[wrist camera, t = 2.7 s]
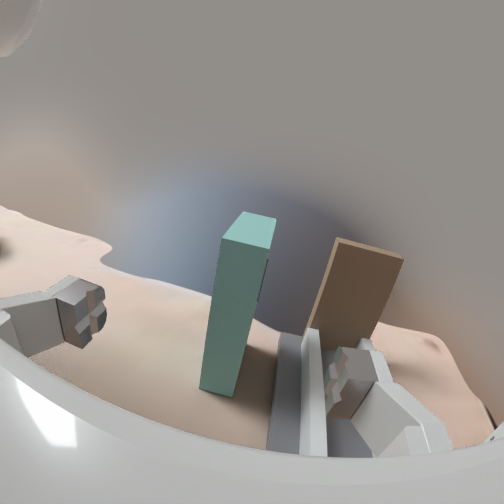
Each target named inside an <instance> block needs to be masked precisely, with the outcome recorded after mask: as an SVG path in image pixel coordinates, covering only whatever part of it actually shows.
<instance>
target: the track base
mask: <svg viewBox="0 0 504 504" xmlns="http://www.w3.org/2000/svg"><path fill="white" fill-rule="evenodd" d="M403 261H404V259H403V258H402V257H401V256H400V255H399V254H397V253H394V252H390V251H386V250H383V249H379V248H376V247H372V246H368V245H365V244H361V243H357V242H353V241H350V240H346V239H342V238H338V237H336V240H335V243H334V247H333V250H332V253H331V257H330V259H329V263H328V266H327V269H326V272H325V275H324V278H323V281H322V284H321V287H320V290H319V293H318V296H317V299H316V302H315V304H314V307H313V310H312V313H311V316H310V319H309V321H308V324H307V327H306V329H305V332H304V335H303V336H298V335H293V334H289V333H284V332H281V335H280V338H279V343H278V353H277V362H276V372H275V381H274V389H273V398H272V406H271V414H270V422H269V430H268V437H267V445H266V450H268V451H275V452H282V453H290V454H299V455H309V456H322V457H341V458H377V457H376V456H375V455H374V453H373V452H372V451H371V449H370V448H369V446H368V445H367V444H366V442H365V441H364V440H363V438H362V437H361V435H360V434H359V433H358V431H357V430H356V428H355V427H354V426H353V424H352V423H351V421H350V420H349V419H339V418H330V417H326V410H325V401H326V399H327V397H328V396H327V395H326V393H325V392H324V380H325V376H326V372H327V370H328V367H329V365H331V364H332V363H334V362H335V360H334V354H335V352H336V350H337V348H338V347H339V346H342V347H349V348H357V349H364V350H374V347H373V344H372V341H371V339H370V337H371V335H372V333H373V331H374V329H375V327H376V324H377V322H378V320H379V318H380V316H381V314H382V312H383V309H384V307H385V305H386V303H387V300H388V298H389V296H390V293H391V291H392V289H393V286H394V284H395V281H396V279H397V276H398V274H399V271H400V269H401V266H402V263H403Z"/></svg>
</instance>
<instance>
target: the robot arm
mask: <svg viewBox="0 0 504 504" xmlns="http://www.w3.org/2000/svg"><path fill="white" fill-rule="evenodd" d="M41 4H42V0H0V57H5V56H9V55H10V54H11V53H13V52H14V51H15V50H16V49H17V48H18V47H19V46H20V45H21V44H22V43H23V42H24V41H25V40H26V38H27V37H28V36H29V34H30V33H31V31H32V29H33V28H34V26H35V24H36V22H37V19H38V17H39V14H40V10H41ZM104 299H105V291H104V289H103V288H102V287H101V286H99V285H96V284H93V283H91V282H88V281H85V280H83V279H80V278H78V277H75V276H70V275H69V276H67V277H65V278H64V279H62V280H61V281H59V282H58V283H56V284H55V285H53V286H52V287H50V288H49V289H47V290H46V291H44V292H41V291H39V292H33V293H28V294H22V295H17V296H11V297H6V298H1V299H0V504H504V438H500V439H497V440H493V441H490V442H486V443H482V444H478V445H474V446H469V447H465V448H460V449H453V446H452V443H451V440H450V438H449V435H448V432H447V429H446V427H445V424H444V423H443V422H442V421H441V420H440V419H439V418H438V417H436V416H435V415H434V414H433V413H432V412H431V411H429V410H428V409H427V408H426V407H425V406H424V405H422V404H421V403H420V402H419V401H418V400H417V399H415V398H414V397H413V396H412V395H411V394H410V393H408V392H407V391H406V390H405V389H404V388H403V387H401V386H400V385H399V384H398V383H394V382H393V379H392V376H391V373H390V370H389V368H388V365H387V362H386V360H385V357H384V354H383V352H381V351H377V350H364V349H357V348H349V347H342V346H339V347H338V348H337V350H336V352H335V354H334V360H335V362H334V363H332V364H331V365H329V367H328V370H327V372H326V376H325V380H324V392H325V393H326V395H327V396H328V397H327V399H326V401H325V410H326V417H330V418H339V419H349V420H350V421H351V423H352V424H353V426H354V427H355V428H356V430H357V431H358V433H359V434H360V435H361V437H362V438H363V440H364V441H365V442H366V444H367V445H368V446H369V448H370V449H371V451H372V452H373V453H374V455H375V456H376V457H377V458H341V457H322V456H309V455H299V454H290V453H282V452H275V451H268V450H262V449H256V448H251V447H246V446H241V445H236V444H231V443H227V442H223V441H218V440H214V439H210V438H207V437H203V436H199V435H196V434H192V433H189V432H185V431H182V430H179V429H176V428H173V427H170V426H167V425H164V424H161V423H158V422H155V421H152V420H150V419H147V418H144V417H142V416H139V415H137V414H134V413H132V412H129V411H127V410H124V409H122V408H120V407H117V406H115V405H113V404H111V403H109V402H106V401H104V400H102V399H100V398H98V397H96V396H94V395H92V394H90V393H88V392H86V391H84V390H82V389H80V388H78V387H76V386H74V385H72V384H71V383H69V382H67V381H65V380H63V379H62V378H60V377H58V376H56V375H55V374H53V373H51V372H50V371H48V370H46V369H45V368H43V367H42V366H40V365H38V364H37V363H35V362H34V361H32V360H31V359H29V358H28V357H30V356H32V355H35V354H37V353H40V352H42V351H45V350H47V349H50V348H52V347H54V346H57V345H59V344H62V343H64V341H65V342H67V343H69V344H72V345H74V346H76V347H78V348H81V349H83V348H84V347H85V346H86V345H87V344H88V343H89V342H90V341H91V340H92V334H94V333H97V332H99V331H100V330H101V329H102V328H103V326H104V324H105V322H106V316H107V312H106V307H105V306H104V304H103V301H104Z"/></svg>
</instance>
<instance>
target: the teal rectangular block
mask: <svg viewBox="0 0 504 504" xmlns="http://www.w3.org/2000/svg"><path fill="white" fill-rule="evenodd" d="M275 224H276V219H274V218H270V217H265V216H261V215H257V214H252V213H248V212H242V214H241V215H240V216H239V218H237V220H236V221H235V222H234V223H233V225H232V226H231V227H230V228H229V230H228V231H227V232H226V233H225V235H224V236H223V237H222V240H221V246H220V251H219V257H218V263H217V269H216V275H215V282H214V289H213V295H212V301H211V307H210V314H209V320H208V327H207V334H206V341H205V348H204V355H203V362H202V370H201V377H200V385H199V389H203V390H206V391H210V392H213V393H217V394H221V395H224V396H228V397H233V393H234V389H235V385H236V382H237V378H238V374H239V370H240V366H241V362H242V358H243V355H244V351H245V347H246V343H247V339H248V335H249V331H250V327H251V323H252V319H253V315H254V311H255V307H256V303H257V302H258V299H259V295H260V291H261V287H262V283H263V279H264V275H265V271H266V267H267V263H268V259H267V258H268V254H269V249H270V245H271V241H272V236H273V232H274V228H275Z"/></svg>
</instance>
